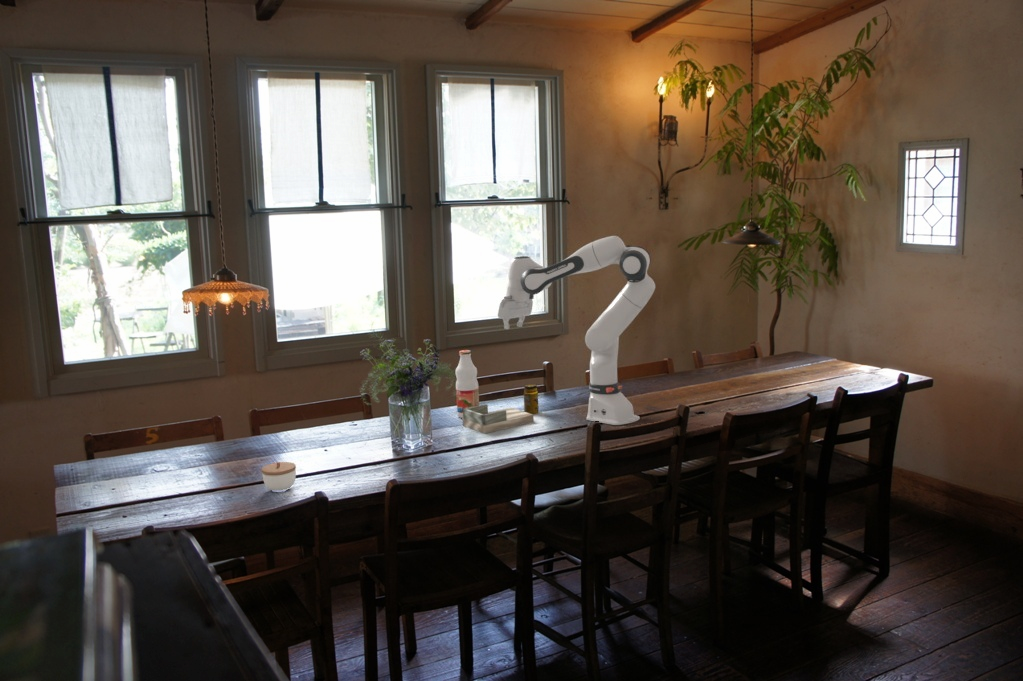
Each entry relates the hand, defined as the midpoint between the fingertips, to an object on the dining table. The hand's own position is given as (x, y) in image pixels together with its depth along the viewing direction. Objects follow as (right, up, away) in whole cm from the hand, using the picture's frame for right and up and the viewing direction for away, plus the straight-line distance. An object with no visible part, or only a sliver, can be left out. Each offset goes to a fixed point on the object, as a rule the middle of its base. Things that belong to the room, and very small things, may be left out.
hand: (513, 327), depth 353 cm
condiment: (+7, -36, +7) cm, 38 cm away
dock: (-6, -39, -7) cm, 40 cm away
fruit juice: (-19, -37, +7) cm, 42 cm away
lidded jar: (-76, -54, -75) cm, 120 cm away
